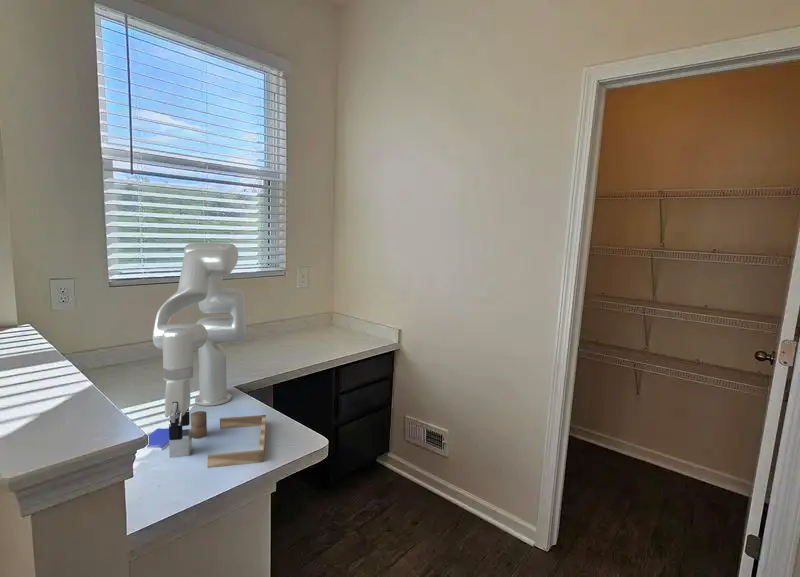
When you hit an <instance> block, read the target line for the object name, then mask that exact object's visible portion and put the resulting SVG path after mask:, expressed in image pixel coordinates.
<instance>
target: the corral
mask: <svg viewBox="0 0 800 577" xmlns="http://www.w3.org/2000/svg"><path fill="white" fill-rule="evenodd" d="M257 426H260V433H259V446H258V449H256V450H255V449H254V450H246V451H244V450H243V451H235V452H223V453H222V452H221V453H212V454H208V455H207V468H216V467H217V468H218V467H226V466H236V465H237V466H238V465H245V464H246V465H247V464H248V465H249V464H255V463H264V459H265V458H264V456H265V444H266V432H267V431H266V428H267V414H260V415H245V416H230V417H220V418H219V429H221V430H222V429H231V428H243V427H257Z"/></svg>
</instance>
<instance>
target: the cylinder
mask: <svg viewBox="0 0 800 577" xmlns="http://www.w3.org/2000/svg"><path fill="white" fill-rule="evenodd" d="M207 426H208V419H207V411H204V410H199V411H194V412H191V414H190V427H191V428H190V429H192V439H193V440H194V439H196V440H198V439H203V438H205V437H206V436H208V429H207V428H208V427H207Z"/></svg>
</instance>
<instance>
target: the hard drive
mask: <svg viewBox="0 0 800 577" xmlns="http://www.w3.org/2000/svg"><path fill="white" fill-rule="evenodd" d="M147 436H149V445H148V446H147V449H154V450H153V451H163V450H164V449H165V448H166V447H168V446H169V428H161V427H160V428H156V429H154V430H153V432H151V433H149V434H148V435H147ZM145 449H146V448H145ZM145 449H143V450H142V451H146V450H145ZM162 449H163V450H162Z"/></svg>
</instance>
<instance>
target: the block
mask: <svg viewBox="0 0 800 577" xmlns="http://www.w3.org/2000/svg"><path fill="white" fill-rule="evenodd" d="M182 431H183V438H182V439H181V440H169V444H168V449H169V452H168V453H169V458H170V459H171V458H181V457H190V454H191V452H192V450H193V438H192V429H191V428H187V429H182Z"/></svg>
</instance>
